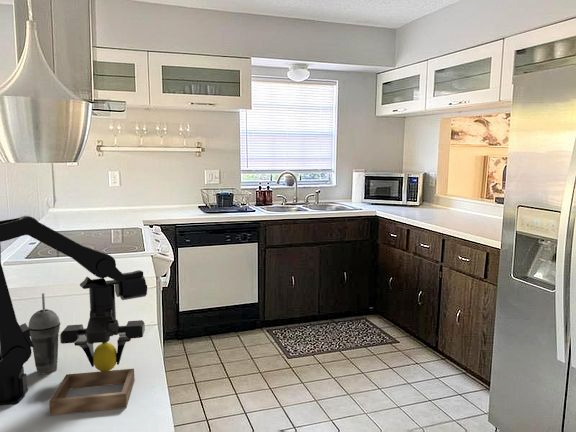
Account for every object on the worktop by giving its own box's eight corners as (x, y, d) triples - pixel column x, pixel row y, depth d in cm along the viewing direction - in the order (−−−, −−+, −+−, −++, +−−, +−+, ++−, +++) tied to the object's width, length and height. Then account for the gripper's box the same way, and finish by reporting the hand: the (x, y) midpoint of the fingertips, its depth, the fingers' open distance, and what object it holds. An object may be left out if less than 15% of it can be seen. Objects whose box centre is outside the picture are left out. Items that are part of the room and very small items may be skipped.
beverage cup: (60, 362, 122) (56, 287, 120) (65, 371, 116) (61, 293, 114) (28, 369, 118) (24, 291, 116) (32, 379, 112) (27, 298, 110)
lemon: (94, 370, 116) (92, 339, 116) (117, 367, 118) (116, 336, 118) (93, 379, 111) (91, 347, 111) (118, 375, 113) (116, 343, 112)
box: (49, 415, 95) (48, 401, 95) (67, 386, 108) (66, 374, 107) (126, 407, 98) (125, 393, 97) (134, 380, 110) (134, 368, 110)
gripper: (51, 315, 104) (55, 383, 105) (138, 310, 107) (141, 375, 109) (65, 302, 114) (68, 363, 116) (143, 297, 118) (146, 357, 119)
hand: (105, 365), depth 115 cm, fingers closed on lemon, 5 cm apart
